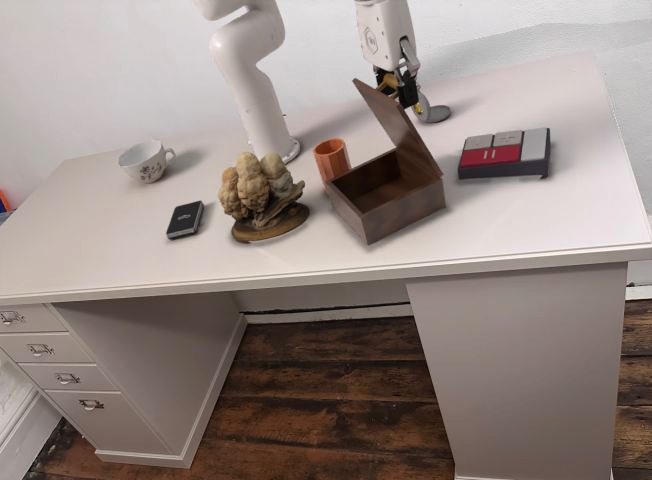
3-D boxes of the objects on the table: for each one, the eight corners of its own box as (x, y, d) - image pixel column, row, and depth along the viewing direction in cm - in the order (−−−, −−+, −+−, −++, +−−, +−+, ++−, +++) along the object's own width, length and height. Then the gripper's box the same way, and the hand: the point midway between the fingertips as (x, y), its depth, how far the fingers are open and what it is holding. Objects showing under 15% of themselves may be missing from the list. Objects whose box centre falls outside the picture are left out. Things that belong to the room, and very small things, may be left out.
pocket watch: (454, 108, 119) (450, 65, 113) (442, 128, 115) (437, 84, 108) (420, 109, 124) (414, 68, 117) (407, 128, 119) (400, 86, 113)
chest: (369, 249, 93) (360, 218, 88) (333, 210, 105) (324, 181, 101) (446, 210, 94) (442, 178, 90) (402, 176, 106) (396, 146, 102)
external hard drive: (205, 206, 122) (202, 199, 121) (197, 235, 114) (193, 228, 113) (178, 213, 124) (175, 206, 122) (169, 242, 116) (164, 235, 114)
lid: (396, 106, 79) (421, 83, 78) (351, 80, 91) (373, 59, 90) (440, 177, 89) (463, 157, 89) (394, 146, 101) (414, 128, 101)
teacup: (127, 195, 139) (111, 170, 134) (138, 171, 148) (123, 146, 143) (178, 181, 136) (164, 154, 131) (186, 157, 145) (173, 131, 140)
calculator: (464, 134, 103) (549, 123, 96) (467, 153, 106) (550, 143, 98) (456, 166, 96) (547, 156, 89) (459, 185, 99) (548, 177, 92)
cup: (319, 193, 111) (306, 152, 105) (340, 177, 113) (329, 135, 107) (340, 200, 107) (328, 158, 100) (361, 183, 109) (351, 141, 102)
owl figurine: (313, 197, 111) (289, 124, 100) (316, 230, 102) (290, 153, 91) (234, 218, 114) (202, 150, 103) (230, 252, 106) (195, 181, 95)
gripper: (331, -12, 82) (356, 96, 94) (384, 2, 69) (406, 125, 80) (373, -31, 83) (393, 78, 94) (433, -21, 70) (448, 105, 81)
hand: (398, 99), depth 87 cm, fingers closed on lid, 6 cm apart
